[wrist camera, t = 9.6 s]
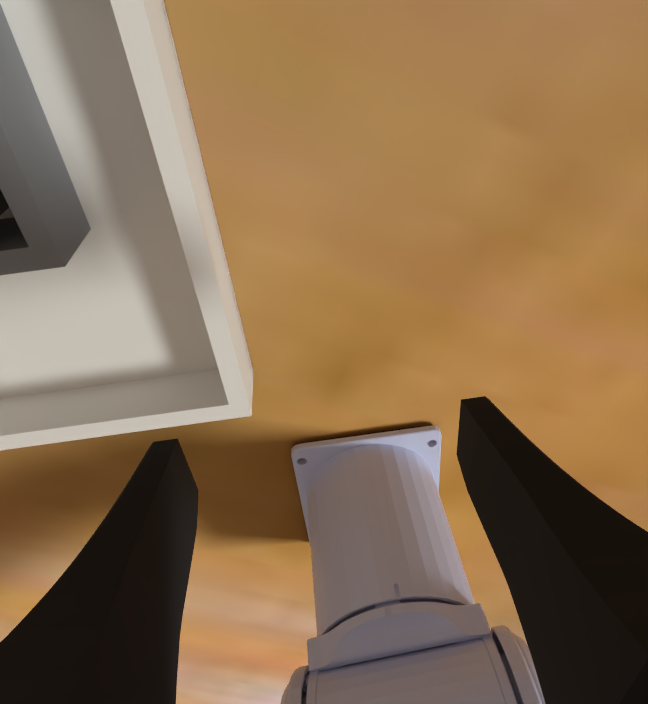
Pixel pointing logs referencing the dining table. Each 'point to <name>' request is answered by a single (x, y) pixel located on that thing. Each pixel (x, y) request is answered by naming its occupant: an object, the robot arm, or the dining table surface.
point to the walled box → (107, 233)
